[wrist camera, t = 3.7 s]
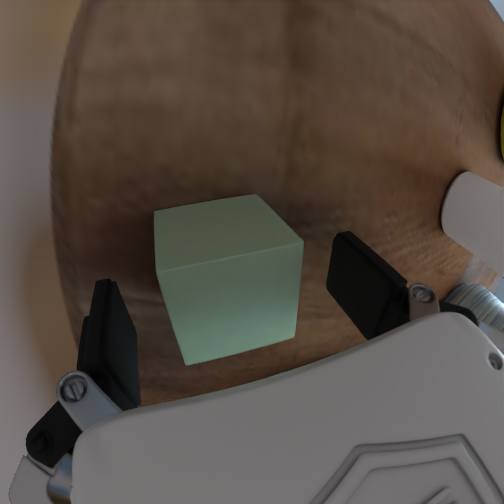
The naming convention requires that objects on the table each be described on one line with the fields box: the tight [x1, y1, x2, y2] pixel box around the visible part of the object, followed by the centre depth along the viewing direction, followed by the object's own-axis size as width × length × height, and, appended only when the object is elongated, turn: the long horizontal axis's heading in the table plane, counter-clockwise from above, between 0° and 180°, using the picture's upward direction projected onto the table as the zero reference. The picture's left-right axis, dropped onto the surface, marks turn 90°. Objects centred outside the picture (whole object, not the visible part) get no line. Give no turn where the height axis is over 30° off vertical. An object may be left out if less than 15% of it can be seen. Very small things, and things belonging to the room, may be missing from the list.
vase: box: [444, 284, 504, 332], centre depth 22 cm, size 12×12×23 cm
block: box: [154, 194, 304, 365], centre depth 12 cm, size 5×5×5 cm
